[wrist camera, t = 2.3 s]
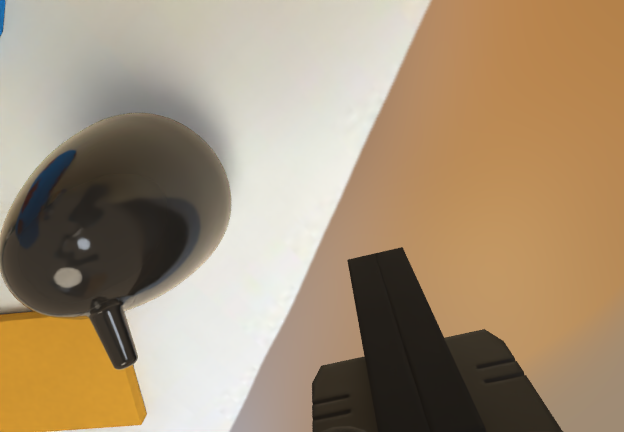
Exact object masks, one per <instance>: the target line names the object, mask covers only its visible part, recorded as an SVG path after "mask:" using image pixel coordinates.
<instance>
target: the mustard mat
mask: <svg viewBox="0 0 624 432" xmlns="http://www.w3.org/2000/svg"><path fill="white" fill-rule="evenodd" d="M146 415H147V413H146V410H145V406H144V403H143V399H142V396H141V392H140V389H139V385H138V382H137V378H136V375H135V371H134V368H133V365H131V366H129V367H127V368H125V369H122V370H117V369H115V368H114V367H113V365H112V363H111V361H110V359H109V357H108V355H107V353H106V351H105V349H104V347H103V345H102V343H101V341H100V339H99V337H98V335H97V333H96V331H95V329H94V327H93V325H92V323H91V321H90V319H82V320H75V319H61V318H53V317H48V316H44V315H42V314H39V313H37V312H23V313H12V314H2V315H0V432H47V431H61V430H75V429H89V428H104V427H118V426H132V425H141V424H142V422H143V421H144V419H145V417H146Z"/></svg>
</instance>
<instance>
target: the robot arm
mask: <svg viewBox="0 0 624 432" xmlns="http://www.w3.org/2000/svg"><path fill="white" fill-rule="evenodd" d="M348 266H349V271H350V277H351V283H352V288H353V294H354V299H355V305H356V311H357V316H358V322H359V327H360V333H361V339H362V344H363V350H364V355H365V357H361V358H356V359H351V360H346V361H341V362H337V363H333V364H328V365H323V366H321V367H320V369H319V371H318V373H317V375H316V377H315V379H314V381H313V383H312V402H313V406H312V410H313V411H312V415H313V416H312V417H313V432H563V431H562V430H561V428H560V427H559V425H558V424H557V422H556V421H555V419H554V417H553V416H552V414H551V413H550V411H549V410H548V408H547V407H546V405H545V404H544V402H543V401H542V399H541V398H540V396H539V395H538V393H537V392H536V390H535V389H534V387H533V385H532V384H531V382H530V381H529V379H528V378H527V376H526V375H524V372H523V370H522V369H521V367H520V366H519V364H518V363H517V361H515V358H514V356H513V355H512V353H511V352H510V350H509V349H508V347H507V346H506V344H505V343H504V341H502V340H501V339H499V338H498V337H496V336H494V335H493V334H491V333H490V332H488V331H486V330H485V329H484V330H479V331H474V332H469V333H465V334H460V335H455V336H451V337H446V338H444V337H443V335H442V333H441V330H440V328H439V326H438V324H437V321H436V320H435V317H434V315H433V313H432V311H431V308H430V306H429V304H428V302H427V300H426V297H425V295H424V293H423V291H422V289H421V287H420V284H419V282H418V280H417V278H416V276H415V274H414V272H413V269H412V267H411V265H410V263H409V261H408V258H407V256H406V254H405V252H404V250H403V248H402V247H401V248H398V249H393V250H389V251H384V252H380V253H375V254H371V255H366V256H362V257H358V258H354V259H349V260H348Z"/></svg>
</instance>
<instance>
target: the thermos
mask: <svg viewBox="0 0 624 432" xmlns="http://www.w3.org/2000/svg"><path fill="white" fill-rule="evenodd" d="M4 10H5V0H0V36H1V34H2V32H3V22H4Z"/></svg>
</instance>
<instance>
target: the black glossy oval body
mask: <svg viewBox="0 0 624 432" xmlns="http://www.w3.org/2000/svg"><path fill="white" fill-rule="evenodd" d="M230 214H231V192H230V186H229V182H228V178H227V176H226V173H225V170H224V168H223V166H222V164H221V162H220V160H219V159H218V157H217V156H216V154H215V153H214V151H213V150H212V149H211V147H210V146H209V145H208V144H207V143H206V142H205V141H204V140H203V139H202V138H201V137H200V136H199V135H197V134H196V133H195V132H194V131H192V130H191V129H189V128H188V127H186V126H185V125H183V124H181V123H179V122H177V121H175V120H172V119H170V118H167V117H164V116H160V115H156V114H150V113H127V114H121V115H117V116H113V117H109V118H106V119H104V120H101V121H99V122H96V123H94V124H92V125H90V126H89V127H87V128H85V129H83V130H82V131H80V132H79V133H77V134H75V135H74V136H72V137H71V138H69V139H68V140H67V141H65V142H64V143H62V144H61V145H60V146H59V147H57V148H56V149H55V150H54V151H53V152H52V153H51V154H49V155H48V156H47V157H46V158H45V159H44V160H43V161H42V162H41V164H40V165H39V166H38V167H37V168H36V169H35V171H34V172H33V173H32V174H31V176H30V177H29V178H28V180H27V181H26V182H25V184H24V185H23V187H22V188H21V190H20V191H19V193H18V195H17V196H16V198H15V200H14V202H13V204H12V206H11V208H10V209H9V212H8V214H7V216H6V218H5V221H4V224H3V227H2V230H1V234H0V272H1V275H2V278H3V280H4V282H5V284H6V286H7V288H8V289H9V290H10V292H11V293H12V294H13V295H14V297H15V298H16V299H17V300H18V301H20V302H21V303H22V304H23V305H25V306H26V307H27V308H29V309H31V310H33V311H34V312H37V313H39V314H42V315H44V316H48V317H53V318H61V319H75V320H82V319H90V321H91V323H92V325H93V327H94V329H95V331H96V333H97V335H98V337H99V339H100V341H101V343H102V345H103V347H104V349H105V351H106V353H107V355H108V357H109V359H110V361H111V363H112V365H113V367H114V368H115V369H117V370H122V369H125V368H127V367H129V366H131V365H133V364H134V363H135V362H136V361H137V359H138V355H137V351H136V348H135V345H134V342H133V338H132V335H131V332H130V329H129V325H128V322H127V319H126V316H125V312H124V311H126V310H129V309H132V308H135V307H138V306H140V305H142V304H145V303H147V302H149V301H151V300H153V299H155V298H157V297H159V296H161V295H163V294H165V293H166V292H168V291H170V290H171V289H173V288H174V287H176V286H177V285H179V284H180V283H181V282H183V281H184V280H185V279H187V278H188V277H189V276H190V275H191V274H193V273H194V272H195V271H196V270H197V269H198V268H199V267H200V266H201V265H202V264H203V263H204V262H205V261H206V260H207V259H208V258H209V257H210V256H211V255H212V253H213V252H214V251H215V249H216V248H217V247H218V245H219V243H220V242H221V240H222V238H223V236H224V234H225V232H226V229H227V227H228V223H229V219H230Z"/></svg>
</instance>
